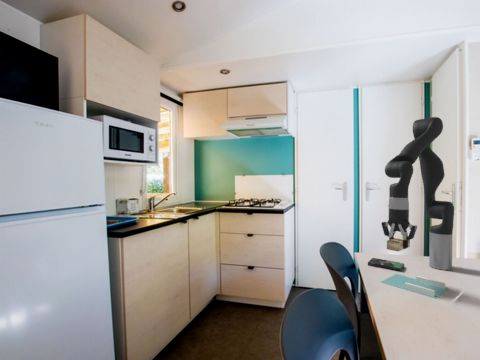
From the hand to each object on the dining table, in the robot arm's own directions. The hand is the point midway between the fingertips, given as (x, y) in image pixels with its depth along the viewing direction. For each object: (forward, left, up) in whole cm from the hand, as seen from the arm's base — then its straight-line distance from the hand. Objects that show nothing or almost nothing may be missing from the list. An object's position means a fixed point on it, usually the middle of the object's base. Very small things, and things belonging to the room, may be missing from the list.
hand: (398, 247), depth 117 cm
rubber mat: (0, +6, -15) cm, 16 cm away
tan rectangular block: (0, 0, 0) cm, 0 cm away
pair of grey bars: (0, +10, -15) cm, 18 cm away
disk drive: (-16, -12, -16) cm, 25 cm away
